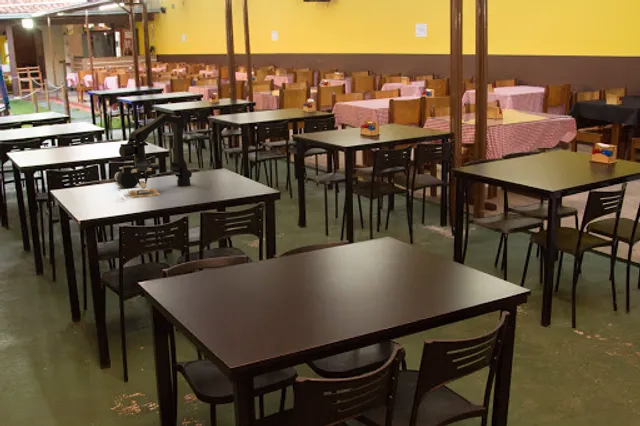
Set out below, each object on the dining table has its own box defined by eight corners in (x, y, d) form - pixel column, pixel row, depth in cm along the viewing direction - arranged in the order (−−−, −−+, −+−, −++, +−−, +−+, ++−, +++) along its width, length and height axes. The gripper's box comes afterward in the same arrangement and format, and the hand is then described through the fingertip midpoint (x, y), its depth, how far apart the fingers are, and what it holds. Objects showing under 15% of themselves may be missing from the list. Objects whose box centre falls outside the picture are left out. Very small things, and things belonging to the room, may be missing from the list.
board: (154, 191, 378) (153, 184, 377) (160, 197, 362) (159, 190, 361) (128, 194, 373) (127, 186, 372) (132, 200, 356) (132, 192, 356)
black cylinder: (123, 187, 417) (129, 171, 417) (135, 191, 386) (141, 174, 387) (106, 181, 412) (112, 165, 413) (117, 184, 382) (124, 167, 383)
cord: (145, 182, 371) (140, 179, 370) (147, 184, 365) (142, 181, 364) (142, 187, 371) (137, 184, 370) (144, 189, 365) (139, 186, 364)
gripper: (123, 158, 353) (126, 188, 356) (160, 155, 360) (163, 184, 363) (120, 155, 363) (123, 184, 366) (156, 152, 370) (159, 181, 373)
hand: (142, 183), depth 367 cm, fingers closed on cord, 3 cm apart
